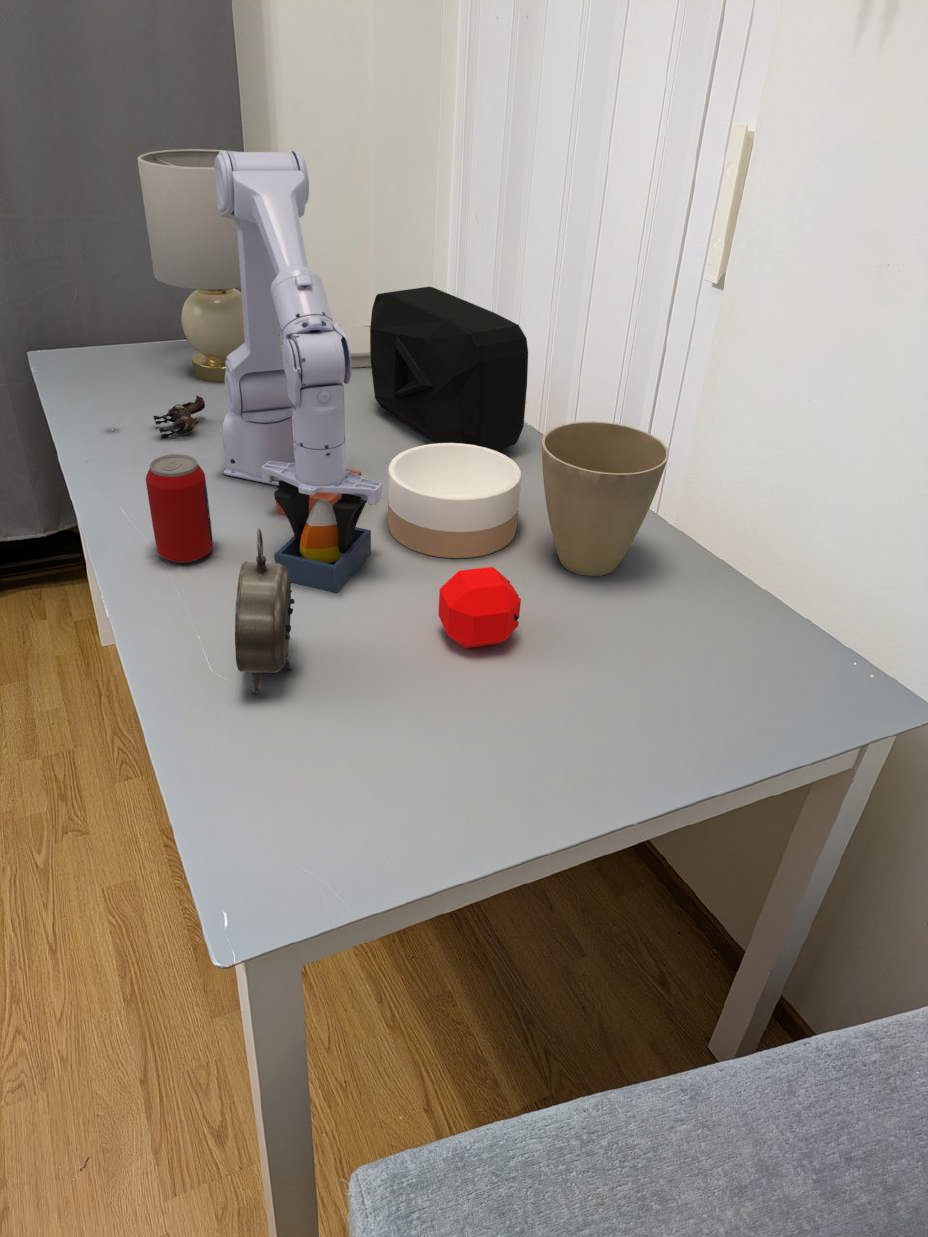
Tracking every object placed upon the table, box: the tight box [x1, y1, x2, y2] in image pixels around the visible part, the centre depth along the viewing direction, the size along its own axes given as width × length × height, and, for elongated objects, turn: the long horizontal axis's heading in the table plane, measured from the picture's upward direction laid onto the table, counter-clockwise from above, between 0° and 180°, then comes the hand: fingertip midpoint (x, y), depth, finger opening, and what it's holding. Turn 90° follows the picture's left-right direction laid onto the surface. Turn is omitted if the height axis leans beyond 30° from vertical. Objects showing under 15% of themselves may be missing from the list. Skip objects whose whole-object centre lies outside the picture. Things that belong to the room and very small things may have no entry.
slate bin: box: [274, 526, 372, 593], centre depth 111 cm, size 8×10×3 cm
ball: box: [438, 566, 522, 649], centre depth 99 cm, size 8×8×8 cm
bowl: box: [387, 443, 522, 559], centre depth 120 cm, size 17×17×8 cm
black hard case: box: [369, 286, 529, 452], centre depth 144 cm, size 30×12×20 cm, turn 37°
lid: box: [339, 325, 371, 369], centre depth 178 cm, size 17×20×3 cm
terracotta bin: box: [274, 468, 362, 515], centre depth 125 cm, size 8×10×3 cm
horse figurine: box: [111, 395, 206, 439], centre depth 143 cm, size 9×4×15 cm
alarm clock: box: [234, 527, 296, 696], centre depth 90 cm, size 11×5×16 cm, turn 5°
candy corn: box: [300, 500, 344, 563], centre depth 110 cm, size 6×3×8 cm, turn 105°
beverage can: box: [145, 453, 214, 564], centre depth 110 cm, size 7×7×12 cm
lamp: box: [137, 148, 245, 383], centre depth 157 cm, size 20×20×35 cm
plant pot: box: [541, 420, 670, 577], centre depth 112 cm, size 15×15×16 cm
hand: (323, 544), depth 111 cm, fingers closed on candy corn, 5 cm apart
